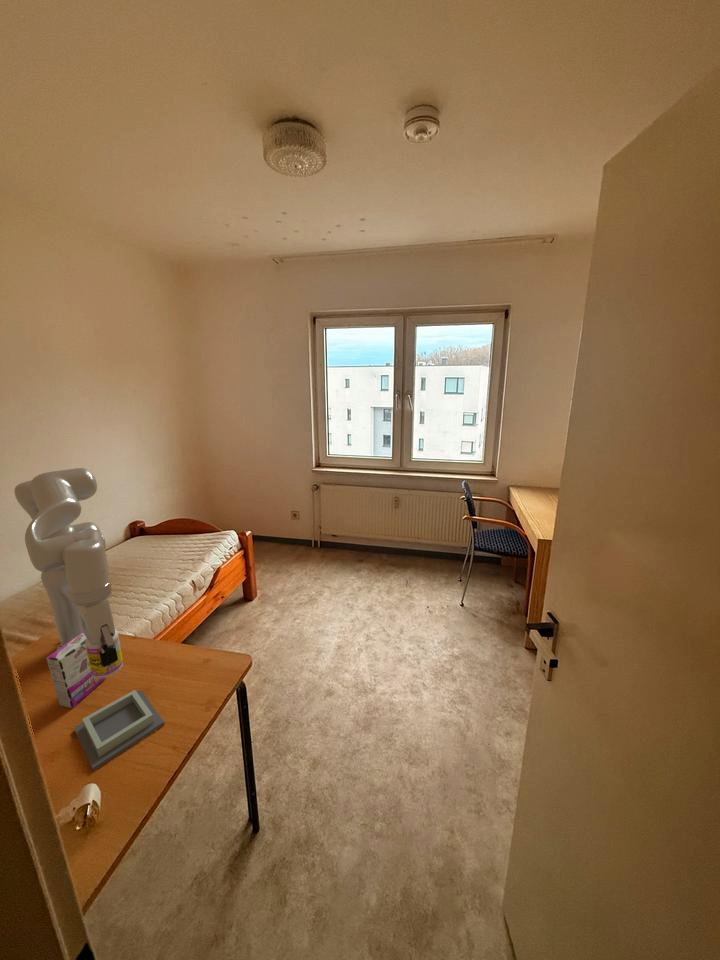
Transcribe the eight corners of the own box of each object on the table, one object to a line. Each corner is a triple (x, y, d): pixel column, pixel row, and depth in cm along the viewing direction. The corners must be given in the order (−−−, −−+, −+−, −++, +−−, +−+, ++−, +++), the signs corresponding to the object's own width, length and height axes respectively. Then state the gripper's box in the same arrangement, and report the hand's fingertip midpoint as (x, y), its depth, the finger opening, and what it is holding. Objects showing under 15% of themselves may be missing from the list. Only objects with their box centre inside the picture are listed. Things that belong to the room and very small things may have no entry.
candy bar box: (92, 676, 114) (82, 630, 109) (106, 678, 113) (97, 632, 108) (57, 706, 103) (44, 657, 99) (72, 709, 102) (60, 660, 98)
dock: (74, 730, 96) (71, 719, 95) (141, 692, 108) (139, 682, 107) (93, 771, 86) (90, 759, 85) (164, 724, 98) (162, 713, 97)
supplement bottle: (87, 682, 88) (76, 636, 85) (98, 662, 94) (88, 619, 91) (118, 676, 90) (109, 631, 87) (127, 657, 96) (119, 614, 93)
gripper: (62, 585, 89) (76, 648, 94) (83, 614, 78) (98, 683, 83) (98, 573, 95) (110, 633, 99) (123, 598, 84) (135, 664, 88)
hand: (105, 655), depth 91 cm, fingers closed on supplement bottle, 6 cm apart
